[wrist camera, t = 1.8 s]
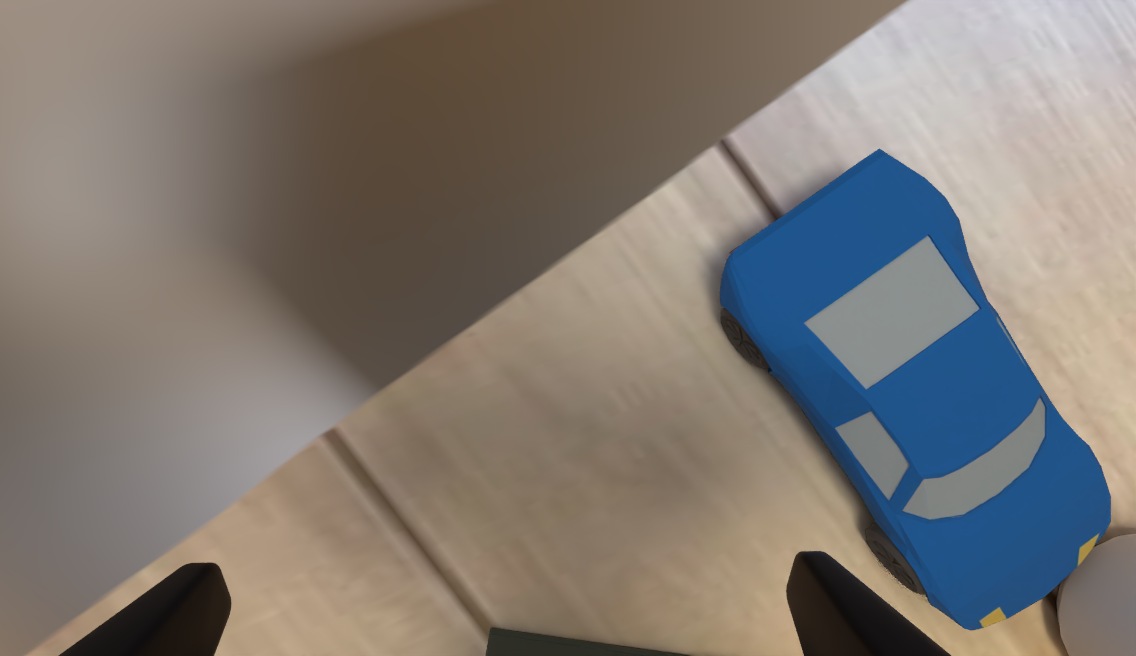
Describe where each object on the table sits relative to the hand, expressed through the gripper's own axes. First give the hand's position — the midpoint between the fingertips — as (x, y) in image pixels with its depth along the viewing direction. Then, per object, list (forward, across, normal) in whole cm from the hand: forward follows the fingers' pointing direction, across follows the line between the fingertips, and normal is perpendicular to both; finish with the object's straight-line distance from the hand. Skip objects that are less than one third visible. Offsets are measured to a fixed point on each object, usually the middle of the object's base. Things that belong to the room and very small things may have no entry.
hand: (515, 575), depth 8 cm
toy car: (+14, -16, +6) cm, 23 cm away
